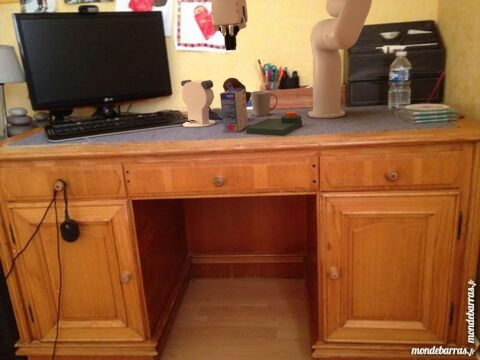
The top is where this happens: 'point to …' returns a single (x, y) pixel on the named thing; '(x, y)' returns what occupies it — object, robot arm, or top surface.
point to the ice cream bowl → (236, 87)
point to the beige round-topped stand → (198, 102)
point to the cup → (262, 102)
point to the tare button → (290, 114)
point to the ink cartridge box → (234, 109)
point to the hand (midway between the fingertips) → (231, 50)
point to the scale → (276, 126)
